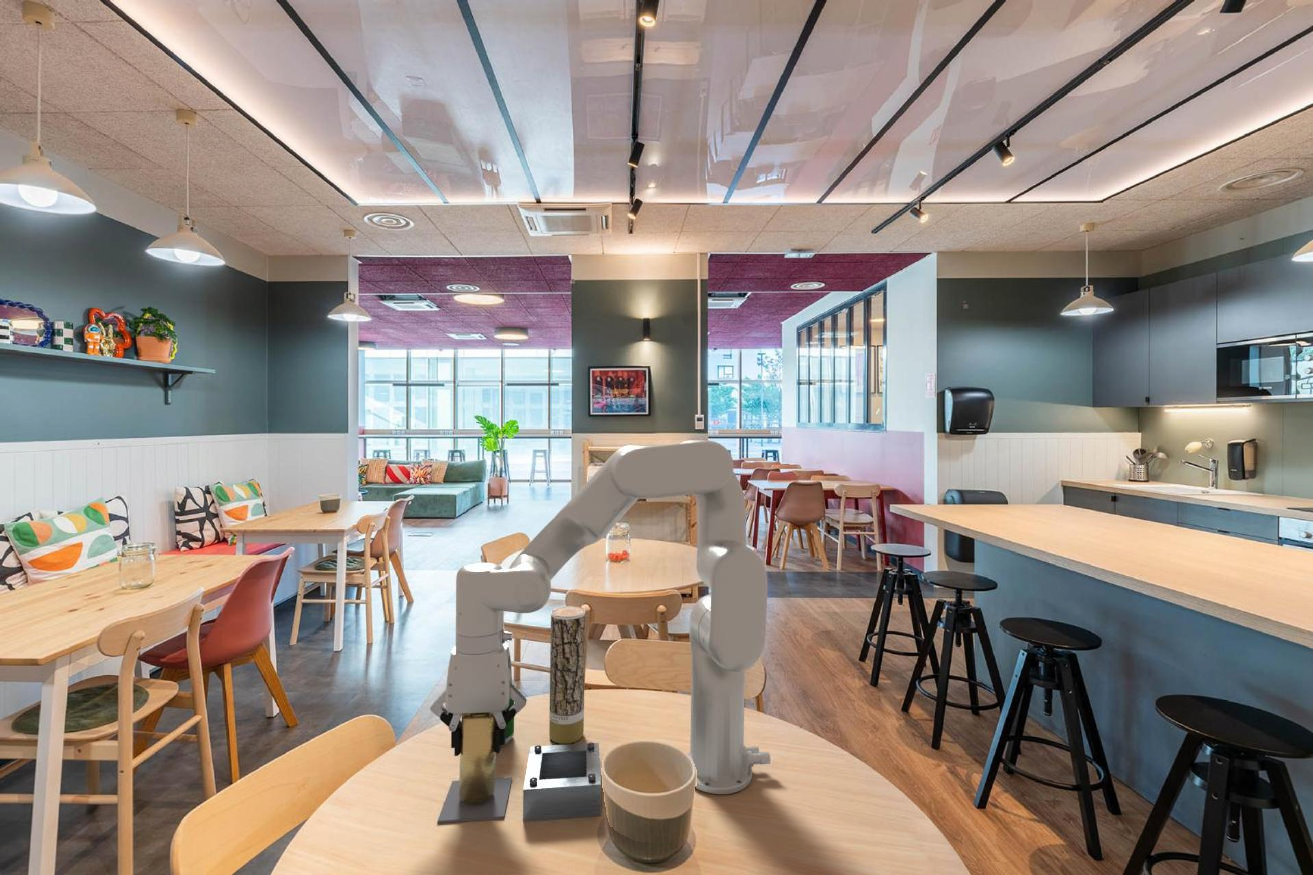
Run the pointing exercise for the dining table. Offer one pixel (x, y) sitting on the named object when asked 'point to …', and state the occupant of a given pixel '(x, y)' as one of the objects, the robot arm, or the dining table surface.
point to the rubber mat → (476, 804)
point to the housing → (562, 782)
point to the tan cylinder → (477, 757)
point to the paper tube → (567, 674)
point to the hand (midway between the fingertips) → (478, 748)
